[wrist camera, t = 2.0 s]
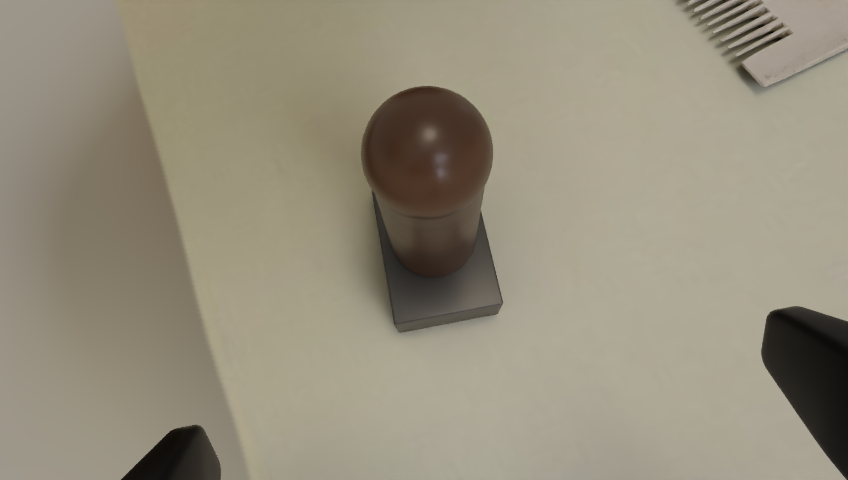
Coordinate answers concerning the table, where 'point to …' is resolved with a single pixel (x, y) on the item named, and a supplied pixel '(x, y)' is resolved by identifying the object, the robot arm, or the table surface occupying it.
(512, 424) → the table surface
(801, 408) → the robot arm
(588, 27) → the table surface
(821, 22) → the grooming comb
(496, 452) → the table surface
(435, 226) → the stamp
